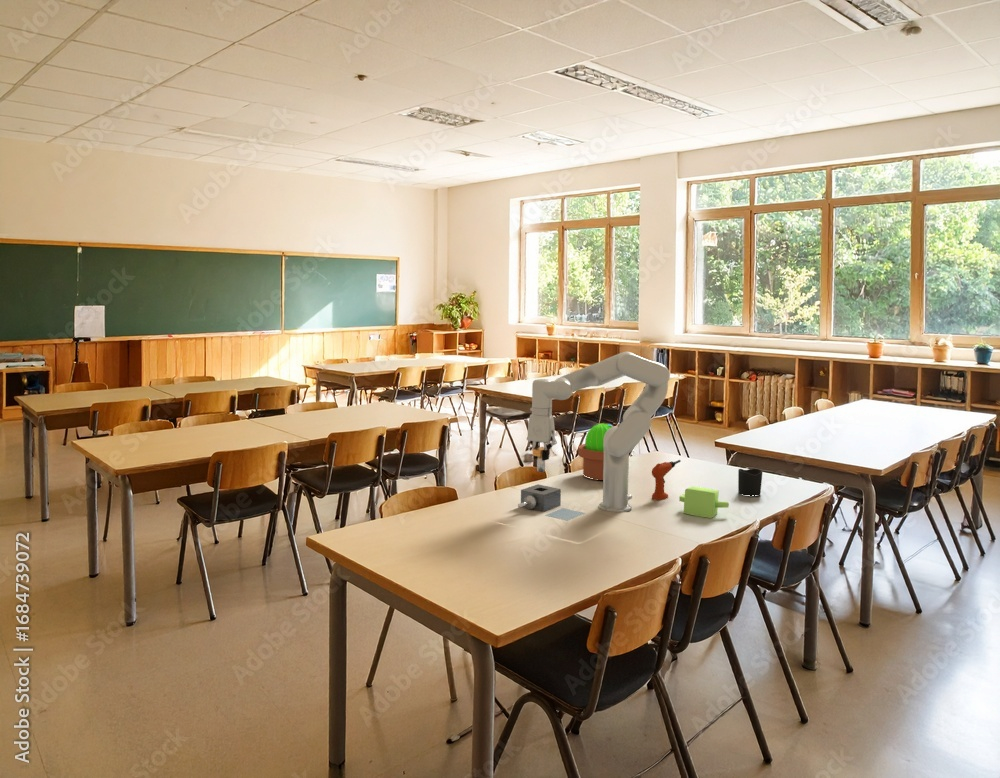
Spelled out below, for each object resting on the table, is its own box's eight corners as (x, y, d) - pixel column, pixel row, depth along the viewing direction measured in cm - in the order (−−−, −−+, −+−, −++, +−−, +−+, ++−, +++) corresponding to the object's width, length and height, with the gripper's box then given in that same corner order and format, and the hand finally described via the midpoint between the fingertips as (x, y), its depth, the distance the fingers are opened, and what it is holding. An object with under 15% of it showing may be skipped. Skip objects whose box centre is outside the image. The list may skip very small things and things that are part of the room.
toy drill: (686, 489, 307) (684, 454, 304) (659, 503, 295) (657, 467, 292) (676, 486, 311) (674, 452, 308) (649, 500, 299) (647, 465, 296)
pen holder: (756, 498, 299) (758, 474, 298) (734, 494, 305) (735, 471, 304) (764, 493, 307) (765, 470, 306) (741, 489, 312) (743, 466, 311)
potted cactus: (570, 479, 330) (571, 423, 326) (588, 468, 349) (589, 416, 346) (617, 485, 319) (619, 428, 316) (633, 474, 339) (635, 420, 335)
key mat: (563, 509, 283) (563, 508, 283) (585, 514, 277) (585, 513, 276) (544, 516, 274) (544, 515, 274) (567, 521, 267) (567, 520, 267)
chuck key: (542, 468, 288) (542, 446, 286) (549, 470, 285) (549, 447, 284) (532, 471, 283) (532, 449, 281) (539, 473, 280) (540, 450, 279)
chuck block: (537, 501, 294) (537, 484, 293) (560, 506, 287) (560, 488, 286) (507, 512, 279) (507, 494, 278) (531, 517, 272) (531, 499, 271)
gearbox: (730, 515, 278) (732, 490, 277) (724, 521, 270) (726, 495, 269) (683, 507, 287) (685, 483, 286) (675, 512, 279) (677, 487, 278)
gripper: (518, 410, 283) (518, 457, 286) (554, 415, 273) (553, 463, 275) (530, 408, 289) (529, 454, 291) (565, 412, 279) (564, 460, 281)
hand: (541, 458), depth 283 cm, fingers closed on chuck key, 3 cm apart
